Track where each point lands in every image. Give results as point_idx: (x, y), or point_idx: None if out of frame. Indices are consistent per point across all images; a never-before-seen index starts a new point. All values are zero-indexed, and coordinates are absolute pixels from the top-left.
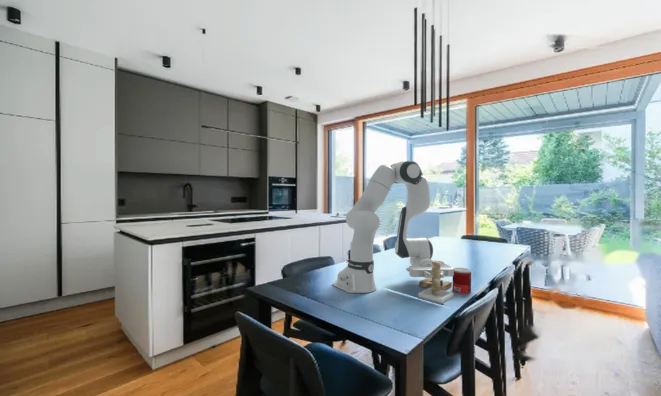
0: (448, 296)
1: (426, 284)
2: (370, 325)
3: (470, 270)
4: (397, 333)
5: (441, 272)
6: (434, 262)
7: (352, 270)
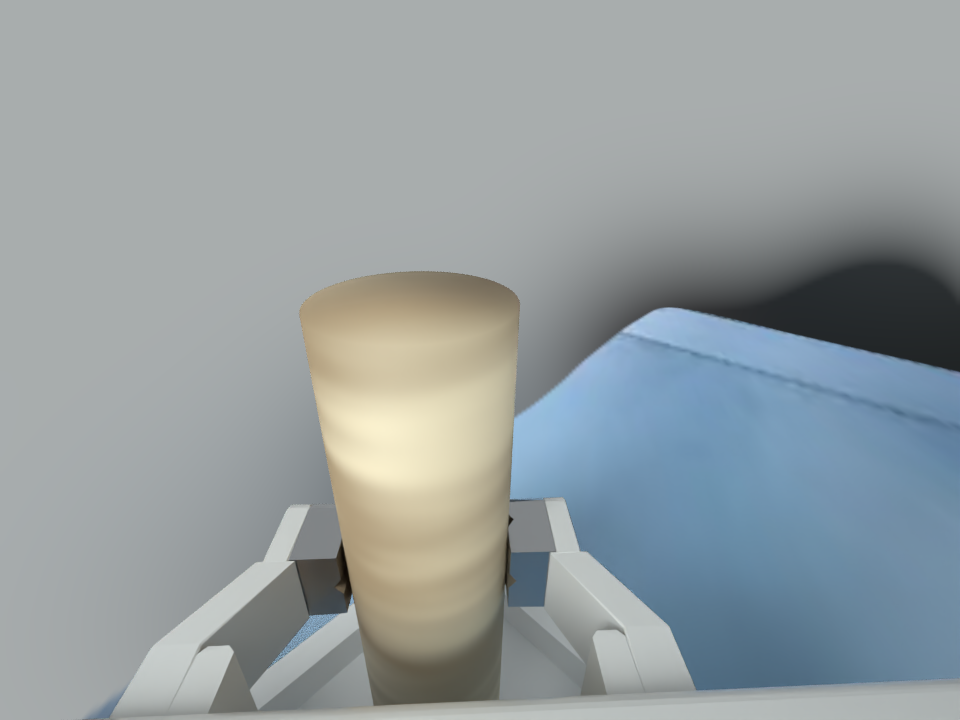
0: (338, 619)
1: None
2: (829, 374)
3: None
4: (704, 346)
5: (261, 585)
6: (469, 292)
7: None
